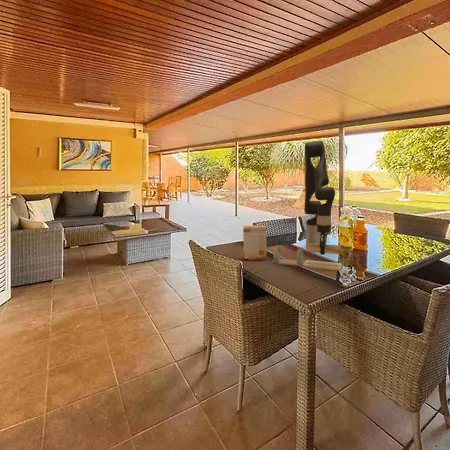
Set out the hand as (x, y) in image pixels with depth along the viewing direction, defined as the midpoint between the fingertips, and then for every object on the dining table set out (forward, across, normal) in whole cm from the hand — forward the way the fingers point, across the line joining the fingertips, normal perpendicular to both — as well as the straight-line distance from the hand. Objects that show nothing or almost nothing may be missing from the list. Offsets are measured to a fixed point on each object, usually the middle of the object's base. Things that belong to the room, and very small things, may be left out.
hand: (322, 253), depth 169 cm
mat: (+7, 0, 0) cm, 7 cm away
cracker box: (+8, -1, -40) cm, 41 cm away
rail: (-1, 0, 0) cm, 1 cm away
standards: (+7, 0, -19) cm, 21 cm away
